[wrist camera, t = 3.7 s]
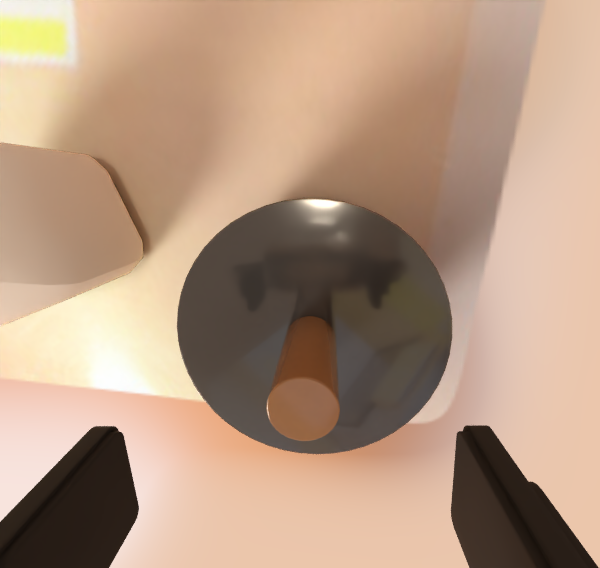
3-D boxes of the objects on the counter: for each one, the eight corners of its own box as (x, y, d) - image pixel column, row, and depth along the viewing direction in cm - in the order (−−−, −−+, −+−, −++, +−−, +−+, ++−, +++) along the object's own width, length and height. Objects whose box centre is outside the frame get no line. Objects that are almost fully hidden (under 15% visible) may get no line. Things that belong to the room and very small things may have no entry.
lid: (453, 189, 17) (541, 190, 10) (438, 441, 20) (495, 570, 13) (167, 205, 18) (67, 215, 11) (202, 439, 22) (143, 556, 15)
